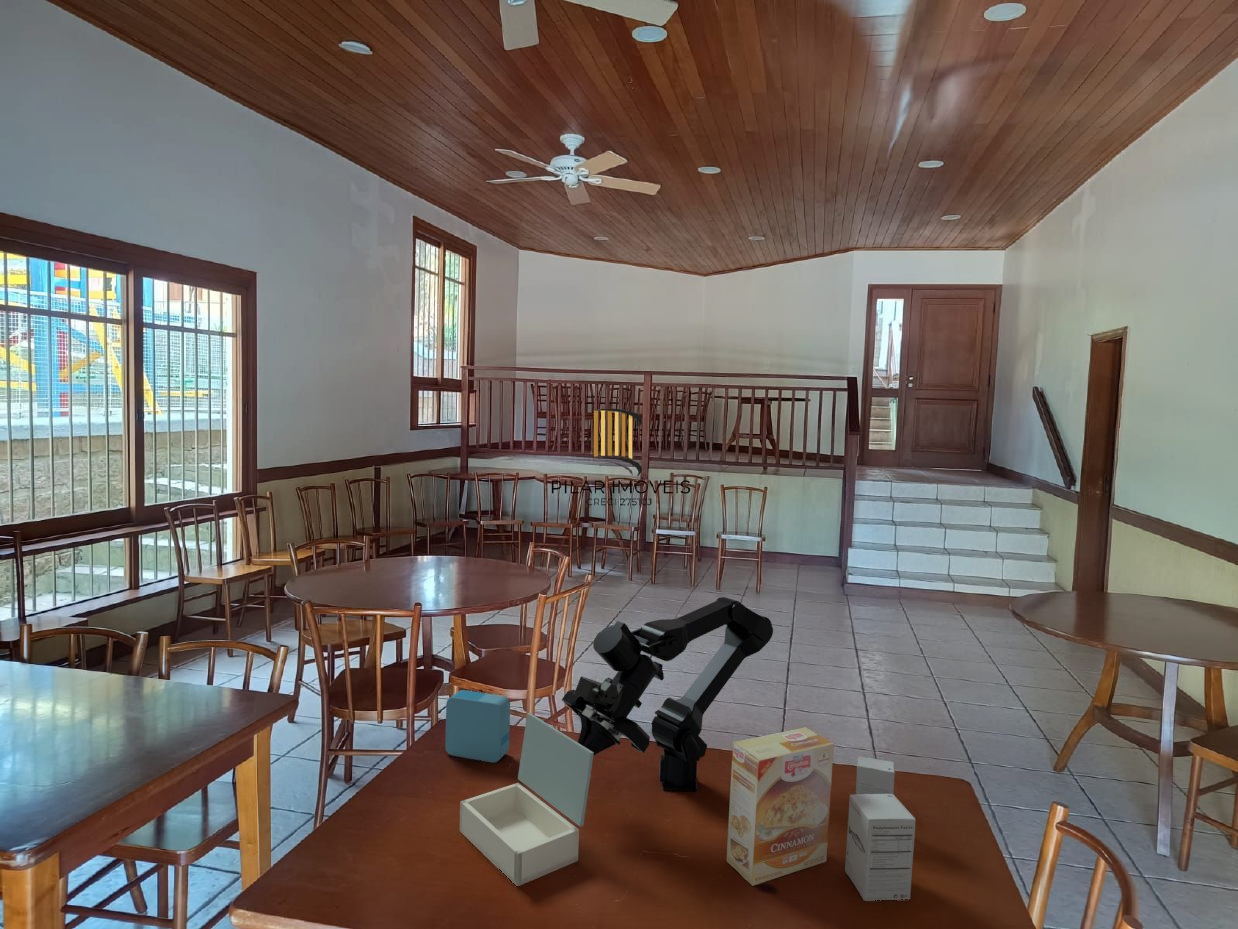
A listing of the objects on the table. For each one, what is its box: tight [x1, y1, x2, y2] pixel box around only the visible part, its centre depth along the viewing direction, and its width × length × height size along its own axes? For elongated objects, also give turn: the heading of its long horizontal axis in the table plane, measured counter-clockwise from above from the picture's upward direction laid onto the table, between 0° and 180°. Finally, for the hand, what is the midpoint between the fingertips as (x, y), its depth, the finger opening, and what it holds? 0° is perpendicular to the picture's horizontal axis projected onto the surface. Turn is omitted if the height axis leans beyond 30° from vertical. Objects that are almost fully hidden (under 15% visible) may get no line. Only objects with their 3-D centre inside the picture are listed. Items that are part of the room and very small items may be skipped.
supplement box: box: [844, 793, 917, 902], centre depth 113 cm, size 7×7×13 cm
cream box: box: [459, 782, 580, 887], centre depth 121 cm, size 11×18×5 cm, turn 39°
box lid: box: [517, 712, 595, 827], centre depth 124 cm, size 11×18×1 cm
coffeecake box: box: [726, 726, 835, 887], centre depth 118 cm, size 15×7×20 cm, turn 117°
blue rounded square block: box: [445, 689, 511, 764], centre depth 151 cm, size 12×4×12 cm, turn 74°
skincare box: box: [855, 755, 896, 795], centre depth 128 cm, size 6×4×12 cm
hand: (575, 762), depth 127 cm, fingers closed
